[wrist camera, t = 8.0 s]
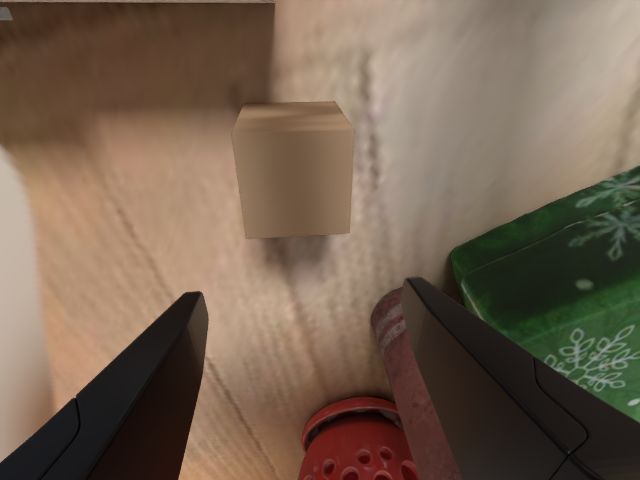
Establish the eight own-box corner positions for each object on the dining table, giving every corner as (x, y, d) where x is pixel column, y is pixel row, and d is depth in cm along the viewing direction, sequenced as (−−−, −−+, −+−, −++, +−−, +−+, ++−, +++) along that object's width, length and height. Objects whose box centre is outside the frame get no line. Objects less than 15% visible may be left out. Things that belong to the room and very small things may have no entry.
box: (655, 376, 39) (760, 475, 30) (497, 429, 42) (552, 533, 33) (691, 121, 22) (943, 182, 14) (426, 239, 25) (499, 348, 17)
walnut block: (334, 101, 19) (354, 129, 14) (333, 184, 22) (349, 233, 17) (244, 103, 19) (231, 133, 14) (253, 188, 21) (246, 239, 16)
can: (450, 321, 30) (562, 516, 18) (381, 344, 30) (445, 547, 19) (438, 270, 26) (565, 469, 15) (361, 298, 27) (423, 508, 15)
